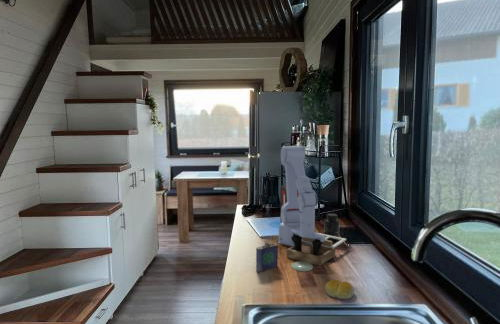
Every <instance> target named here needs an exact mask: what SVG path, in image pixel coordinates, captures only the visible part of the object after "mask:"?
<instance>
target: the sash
mask: <svg viewBox="0 0 500 324" xmlns="http://www.w3.org/2000/svg"><path fill="white" fill-rule="evenodd" d="M315 233H317V234H320V235H323V236H325V237H326V238H325V241H323V243H322V244H321V246H324V247H328V248H332V249H334V248H335V249H336V248H337V247H338V246H340V245H341V244H342V243H344V242H346V241H347V238H345V237H340V236H339V237H335V236H330V235H325V234H324V233H320V232H315ZM328 238H334V239H339V240H338V241H337V242H336V243H335V242H334V244H333V242H332V241H329V240H327V239H328ZM312 241H315V240H314V239H310V238H304V237H302V242H306V243H311V244H312Z"/></svg>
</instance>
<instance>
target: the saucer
mask: <svg viewBox="0 0 500 324" xmlns="http://www.w3.org/2000/svg"><path fill="white" fill-rule="evenodd" d="M291 268H292V269H293V270H295V271H299V272H308V271H309V272H310V271H311V270H313V269H314V264H312V263H308V262H304V261H295V262H292V264H291Z"/></svg>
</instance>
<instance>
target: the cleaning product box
mask: <svg viewBox="0 0 500 324" xmlns="http://www.w3.org/2000/svg"><path fill="white" fill-rule="evenodd" d="M279 193H280V198H279V199H280V204H279V205H280V206H279V207H280V219H279V221H280V223H281V222H282V221H281V207H282V206H283V205H284V204H286V203H287V192H286V184H285V185H280V192H279ZM298 196H299V193H298V189H297V198H298ZM287 210H296V209H287Z"/></svg>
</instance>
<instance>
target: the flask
mask: <svg viewBox="0 0 500 324" xmlns="http://www.w3.org/2000/svg"><path fill="white" fill-rule="evenodd" d="M255 251H256V252H255V253H256V255H255V261H256V262H255V263H256V264H255V265H256V266H255V267H256V269H255V270H256V272H257V273H263V272H266V271H267V270H269V269H275V268H278V259H279V258H278V253H279V245H278V243H274V242H273V243H272V242H271V243H269V241H268V240H265V241H264V244H263V245H261V246H258V247H256V250H255Z"/></svg>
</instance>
